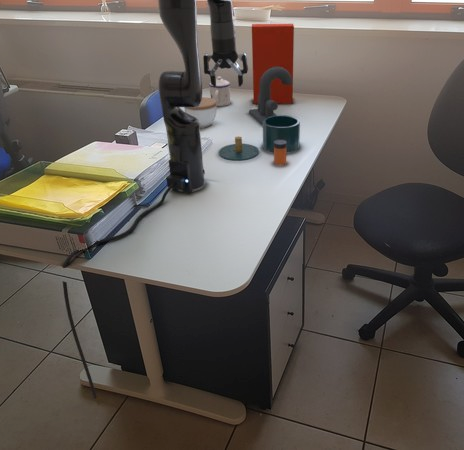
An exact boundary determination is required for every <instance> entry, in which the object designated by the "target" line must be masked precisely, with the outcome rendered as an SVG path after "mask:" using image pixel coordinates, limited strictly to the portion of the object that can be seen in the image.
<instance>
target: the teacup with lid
mask: <svg viewBox="0 0 464 450" xmlns="http://www.w3.org/2000/svg"><path fill="white" fill-rule="evenodd" d="M208 85H209V92H210V98H212V99H215V100H216V107H225V106H229V105H230V104H231V82H230V81H229V80H226V79H224V78H222V76H217V77H216V87H213V85H212V84H211V81H210V82H209V84H208Z"/></svg>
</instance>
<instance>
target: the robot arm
mask: <svg viewBox="0 0 464 450" xmlns="http://www.w3.org/2000/svg"><path fill="white" fill-rule="evenodd" d="M206 1H207V4H208V9H209V19H210V37H211V38H210V39H211V48H212V49H211V50H212V54H208V53H204V55H203V57H202V59H203V60H202V61H203V72H204V75H209V77H210V82H211V84H212V85H213V87H216V79H217V77H216V72H217V70H218V69H219V68H220V69H222V70H223V69H227V70H229V69H232V70H234V71H235V72H236V74H237V83H238V87H242V86H243V84H244V75H245V74H246V75H247V74H248V72H249V66H248V58H247V53H246V52H243V53H238V52H237V43H236V42H237V41H236V29H235V27H236V26H235V23H234V12H233V10H234V9H233V2H232V0H206ZM157 3H158V4H157V5H158V14H159V17H160V20H161V22H162V24H163V25H164V28H165V29H166V30H167V32H168V34H169V36H170V37H171V38H172V39H173V41H174V42H175V43H174V44H176V46H177V47H178V49H179V52H180V54H181V56H182V60H183V65H184V70H163V71H162V72H161V73H160V75H159V78H158V96H159V102H160V105H161V111H162V117H163V123H164V125H165V126H164V127H165V130H166V137H167V138H166V139H167V147H168V154H169V155H168V156H169V160H168V167H169V168H168V169H169V175H168V176H166V177H165V178H166V179H165V180H166V186H167V189H166V190H165V191H164V193H163V194H162V197H161V200H159V202H158V203H157V204H156V205H154V206H152V207H150V208H148V209H146V210H145V211H143V212H141V214H139V215H138V216H137V217H136V219H135V220H134V222H133V223H132V225H131V226H130V227H129V228H128V229H127V230H126V231H124V232H121V233H120V234H117V235H114V236H110V237H107V238H102V239H99V240H100V241H98V240H95V241H96V242H95V241H94V242H95V243H94V244H93V245H92V246H91V247H93V246H96V245H100V244H102V243H107V242H111V241H115V240H118V239H121V238H123V237H125V236H127V235H129V234H130V233H131V232H132V231H133V230H134V229H135V228H136V227H137V225H138V223H139V221H140V220H141V219H142V218H143V217H144V216H146V215H148V214H149V213H151V212H153V211H154V210H156V209H157V208H159V207H160V206H161V205H162V204H163V203H164V201H166V198H167V196H168V193H169V192H170V191H175V192H181V193H184V194H191V193H194V192H198V191H200V190H202V189H203V188H204V187H205V186H206V181H205V175H206V171H205V169H204V161H203V150H202V149H203V148H202V137H201V128H200V124H199V120H198V119H197V118H196V117H194V116H192V115H189V114H187V113H186V112H185V110H183V109H182V108H184V107H198V106H199V105H200V103H201V100H202V97H203V81H202V80H203V79H202V72H201V71H202V70H201V66H200V65H201V63H200V55H199V53H200V52H199V45H198V44H199V43H198V21H197V19H198V17H197V10H198V9H197V0H157ZM211 59H212V61H213V63H215V64H214V65H213V67H212V69H210V61H211ZM238 59H239V61H240V62H242V68H241V67H240V65H239V63H238V62H237V61H238ZM83 251H84V250H83V249H82V250H80V251H79V250H77V249H75V250H74V251H72V252H71V253H70V254H69V255H68V256H67V258H66V259H65V261H64V262H63V265H62V269H66V268H67V267H68V266H69V263H70V262H71V260H72V259H73V257H74V256H75V255H77V254H78V253H81V252H83ZM62 288H63V297H64V303H65V309H66V312H67V317H68V322H69V325H70V328H71V332H72V335H73V338H74V342H75V345H76V348H77V350H78V351H77V352H78V354H79V357H80V359H81V363H82V365H83V368H84V371H85V374H86V377H87V380H88V383H89V386H90V390H91V393H92V396H93V399H97V398H98V396H97V393H96V389H95V386H94V382H93V379H92V376H91V373H90V370H89V367H88V364H87V360H86V357H85V355H84V352H83V349H82V345H81V343H80V340H79V337H78V333H77V329H76V327H75V322H74V319H73V314H72V310H71V305H70V298H69V292H68V284H67V282H66V281H64V280H62Z"/></svg>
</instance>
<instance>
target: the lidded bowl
mask: <svg viewBox="0 0 464 450" xmlns="http://www.w3.org/2000/svg"><path fill="white" fill-rule="evenodd" d="M183 108H184V112H186V113H187V114H189V115H192V116H194V117H196V118H197V119H198V120H199V124H200V129H202V128H209V127H210V126H212V123H213V122H214V121H215V119H216V116H217V106H216V100H215V99H212V98H211V97H208V96H207V97H205V96H202V100H201V103H200V105H199V106H198V107H183Z"/></svg>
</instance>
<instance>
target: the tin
mask: <svg viewBox="0 0 464 450" xmlns="http://www.w3.org/2000/svg"><path fill="white" fill-rule="evenodd" d="M300 134H301V121H300V119H299V118H297V117H294V116H292V115H283V114H281V115H279V114H278V115H277V116H271V117H267V118H265V119H264V120H263V125H262V148H263V150H265V151H267V152H270V153H274V141H276V140H285V141H286V142H287V149H286V154H288V153H292V152H295V151H297V150H298V149H299V148H300V139H301V138H300Z"/></svg>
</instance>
